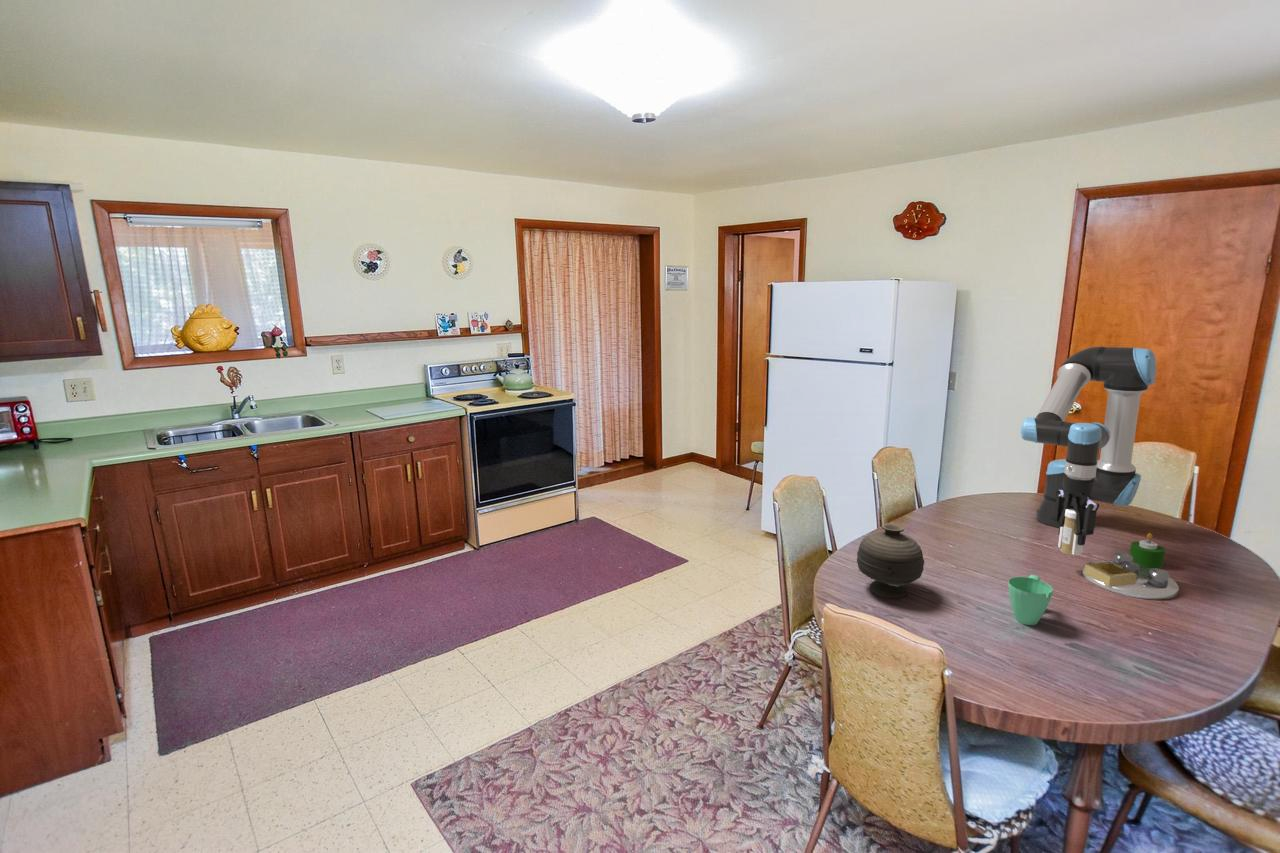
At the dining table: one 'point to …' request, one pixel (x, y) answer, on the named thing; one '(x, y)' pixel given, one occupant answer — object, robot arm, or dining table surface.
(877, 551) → the pot
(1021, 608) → the mug
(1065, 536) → the sprinkles bottle
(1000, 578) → the dining table surface
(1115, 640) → the dining table surface
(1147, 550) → the candle
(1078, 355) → the robot arm
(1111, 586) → the carrier
